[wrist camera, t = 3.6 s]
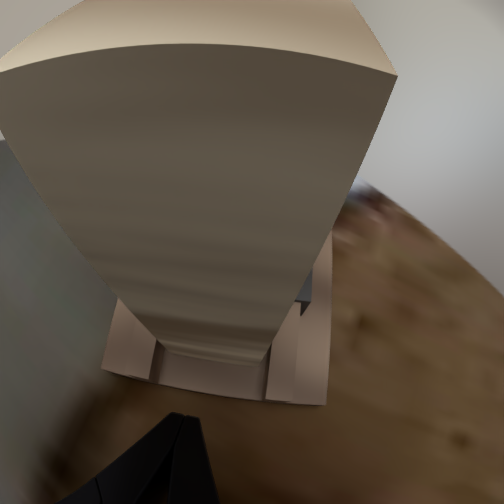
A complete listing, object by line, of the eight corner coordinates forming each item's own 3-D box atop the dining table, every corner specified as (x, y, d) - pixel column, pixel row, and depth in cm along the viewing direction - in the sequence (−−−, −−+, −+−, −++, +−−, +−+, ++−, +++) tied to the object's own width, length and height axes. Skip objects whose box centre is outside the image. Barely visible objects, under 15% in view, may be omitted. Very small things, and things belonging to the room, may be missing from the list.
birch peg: (257, 367, 15) (397, 75, 2) (170, 353, 15) (-24, 80, 2) (267, 286, 17) (338, -16, 4) (187, 275, 17) (126, -21, 4)
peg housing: (318, 405, 16) (374, 398, 9) (110, 372, 16) (42, 342, 9) (325, 204, 22) (355, 125, 16) (165, 183, 23) (148, 102, 16)
